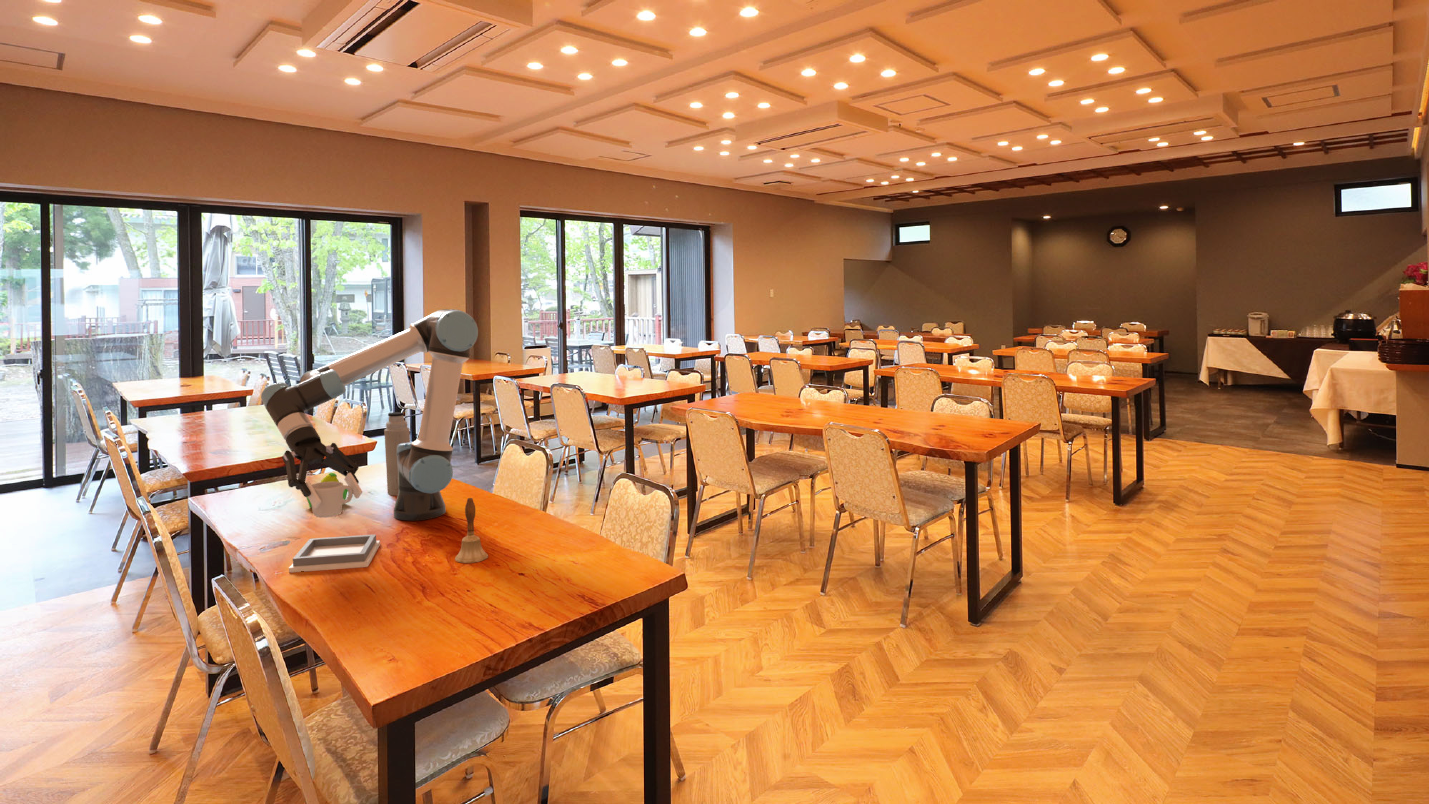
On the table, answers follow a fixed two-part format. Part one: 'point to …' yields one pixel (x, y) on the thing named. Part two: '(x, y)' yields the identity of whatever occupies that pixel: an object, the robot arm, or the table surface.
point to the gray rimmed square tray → (335, 553)
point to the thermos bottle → (394, 448)
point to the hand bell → (470, 539)
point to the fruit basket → (330, 478)
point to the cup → (330, 498)
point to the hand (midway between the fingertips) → (339, 500)
